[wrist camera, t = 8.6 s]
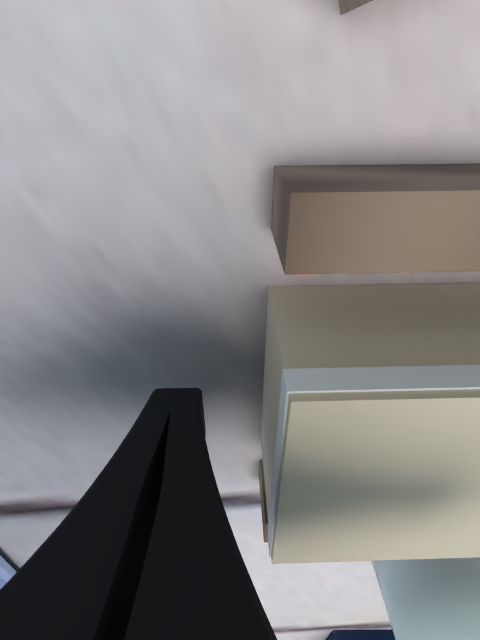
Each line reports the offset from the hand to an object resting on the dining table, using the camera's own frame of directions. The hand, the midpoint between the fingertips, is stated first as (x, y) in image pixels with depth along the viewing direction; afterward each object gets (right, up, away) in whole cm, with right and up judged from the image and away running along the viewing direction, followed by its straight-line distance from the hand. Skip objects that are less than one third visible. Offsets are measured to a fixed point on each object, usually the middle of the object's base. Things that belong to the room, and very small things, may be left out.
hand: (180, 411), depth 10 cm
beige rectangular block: (+8, +1, +2) cm, 8 cm away
